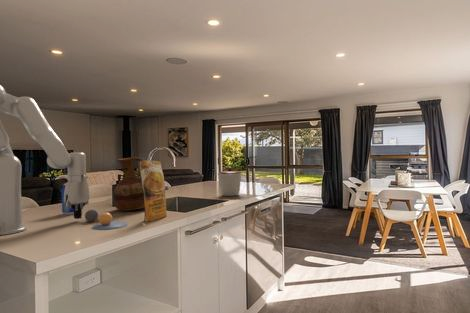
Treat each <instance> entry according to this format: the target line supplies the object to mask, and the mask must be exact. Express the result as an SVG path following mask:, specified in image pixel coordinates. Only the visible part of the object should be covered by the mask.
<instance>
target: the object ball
mask: <svg viewBox="0 0 470 313" xmlns="http://www.w3.org/2000/svg"><path fill="white" fill-rule="evenodd" d="M98 222H99V224H102V225H109V224H110V223H111V222H113V215H112V214H111V213H110V212H103V213H101V214H100V215H99V216H98Z"/></svg>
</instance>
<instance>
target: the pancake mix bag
mask: <svg viewBox="0 0 470 313" xmlns="http://www.w3.org/2000/svg"><path fill="white" fill-rule="evenodd" d="M142 160H143V161H141V162H140V161H139V164H138V165H139V168H138V169H139V174H140V177H141V184H142V189H143V193H144V205H145V207H144V217H143V218H144V219H143V221H144V222H153V221H157V220H160V219H163V218H166V217H167V216H168V215H167V201H166V200H167V199H166V182H165V176H164V171H163V168H162V167H163V166H162V162H161V160H150V159H149V160H146V159H142Z"/></svg>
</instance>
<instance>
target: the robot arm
mask: <svg viewBox="0 0 470 313" xmlns="http://www.w3.org/2000/svg"><path fill="white" fill-rule="evenodd" d="M0 113H4V114H7V115H10V116H13V117H15V118H18V119H19V120H20V122H21V123H22V125H23V126H24V128H25V129H26V131H27V133H28V134H29V136H30V138H31V139H33V141H35V142H37V143H38V144H39V145H40V147H41V148H42V149H43V151H44V152H45V153H46V155H47V158H46V163H47V165H48V166H49V167H50V168H51V169H56V170H62V169H67V182H65V184H66V185H65V191H64V203H66V207H71V208H72V210H74V214H73V218H74V219H76V220H77V219H78V220H79V219H82V215H83V212H82V210H83V209H84V207H85V206H86V205H89V203H90V202H89V201H90V189H89V188H90V187H89V183H88V178H89V176H88V175H87V161H86V160H87V158H86V157H87V156H86V153H84V152H81V151H80V152H70V153H69V152H68V150H67V148H66V147H65V145H64V143H63V142H62V140H61V139H60V137H59V136H58V135H57V134H56V132H55V131H54V129H53V128H52V126H51V125H50V124H49V121H48V120H47V119H46V117H45V115H44V113H43V112H42V110H41V108H40V107H39V105H38V103H37V102H36V101H35V100H34V98H32V97H31V96H20V97H19V96H18V97H17V96H14V95H13V94H10V93H8V92H6V89H5V88H4V87H3V86H2V85H1V84H0ZM22 222H23V220H22V163H21V160H20V159H19V158H18V157H17V156H15V154H14V153H13V150H12V147H11V145H10V138H9V135H8V134H7V132H6V130H5V128H4V126H3V122H2V120H1V119H0V236H2V235H4V236H5V235H12V234H16V233H20V232H24V231H26V230H27V226H26V225H23V224H22Z"/></svg>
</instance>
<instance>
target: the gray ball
mask: <svg viewBox="0 0 470 313" xmlns="http://www.w3.org/2000/svg"><path fill="white" fill-rule="evenodd" d="M84 218H85V221H87V222H89V223H92V222H95V221H96V220H97V219H99V213H98V211H97V210H95V209H88V210H87V211H86V212H85V214H84Z"/></svg>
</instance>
